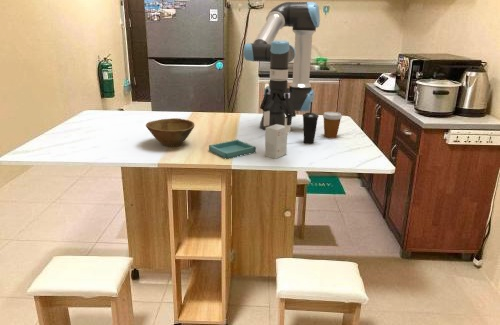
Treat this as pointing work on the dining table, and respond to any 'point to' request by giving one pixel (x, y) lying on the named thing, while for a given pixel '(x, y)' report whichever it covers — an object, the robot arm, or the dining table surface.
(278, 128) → the small box
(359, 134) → the dining table surface
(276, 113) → the robot arm
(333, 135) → the disposable coffee cup
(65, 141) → the dining table surface
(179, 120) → the bowl
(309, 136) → the drinking cup
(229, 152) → the tray
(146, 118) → the dining table surface
